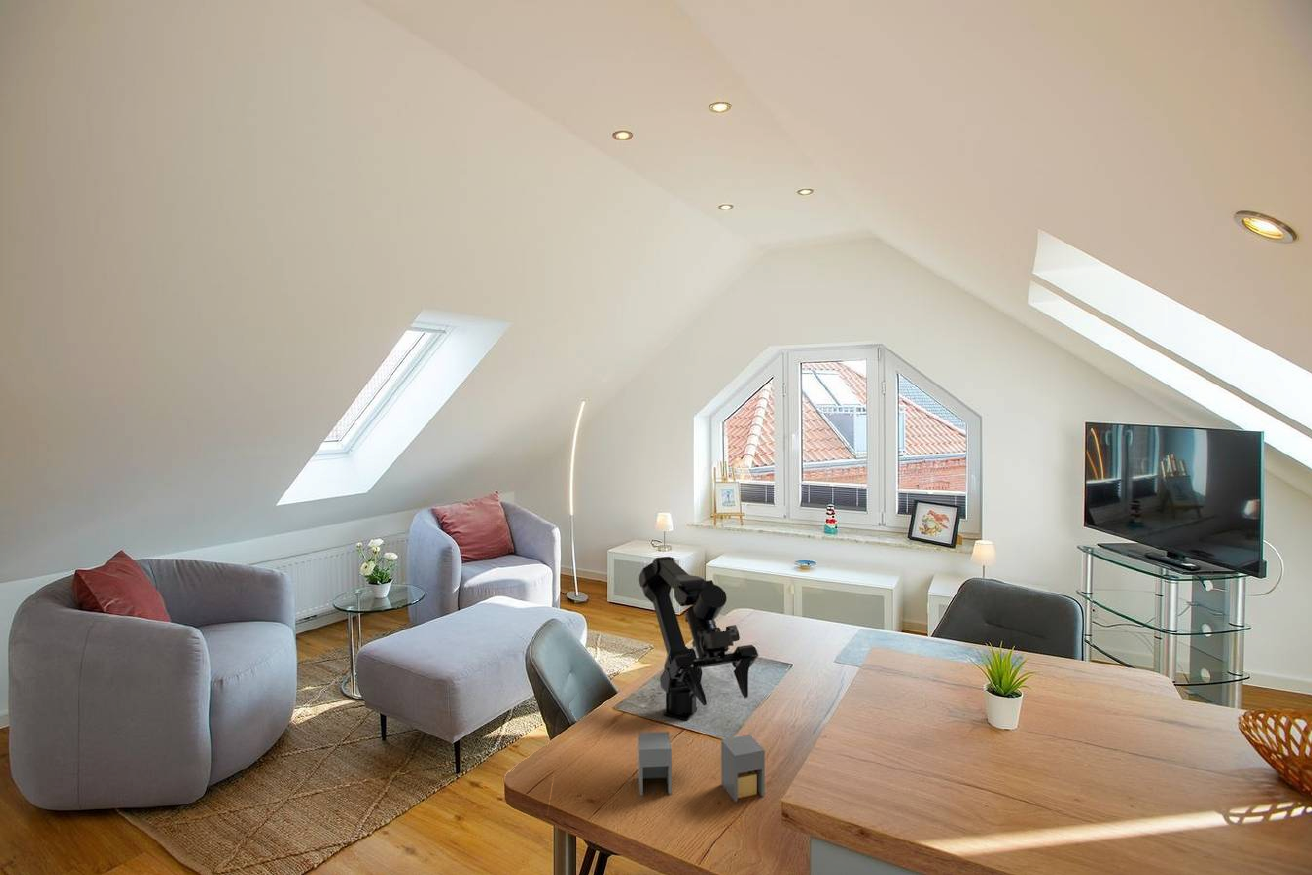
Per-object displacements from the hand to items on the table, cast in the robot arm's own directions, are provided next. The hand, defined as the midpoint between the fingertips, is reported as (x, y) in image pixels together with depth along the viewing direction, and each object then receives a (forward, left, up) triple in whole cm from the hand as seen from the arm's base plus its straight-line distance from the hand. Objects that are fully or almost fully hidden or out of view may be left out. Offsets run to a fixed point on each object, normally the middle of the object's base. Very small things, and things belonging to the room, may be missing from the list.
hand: (726, 701), depth 132 cm
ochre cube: (+6, -6, -14) cm, 16 cm away
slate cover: (-10, -12, -14) cm, 21 cm away
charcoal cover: (+6, -6, -14) cm, 16 cm away
